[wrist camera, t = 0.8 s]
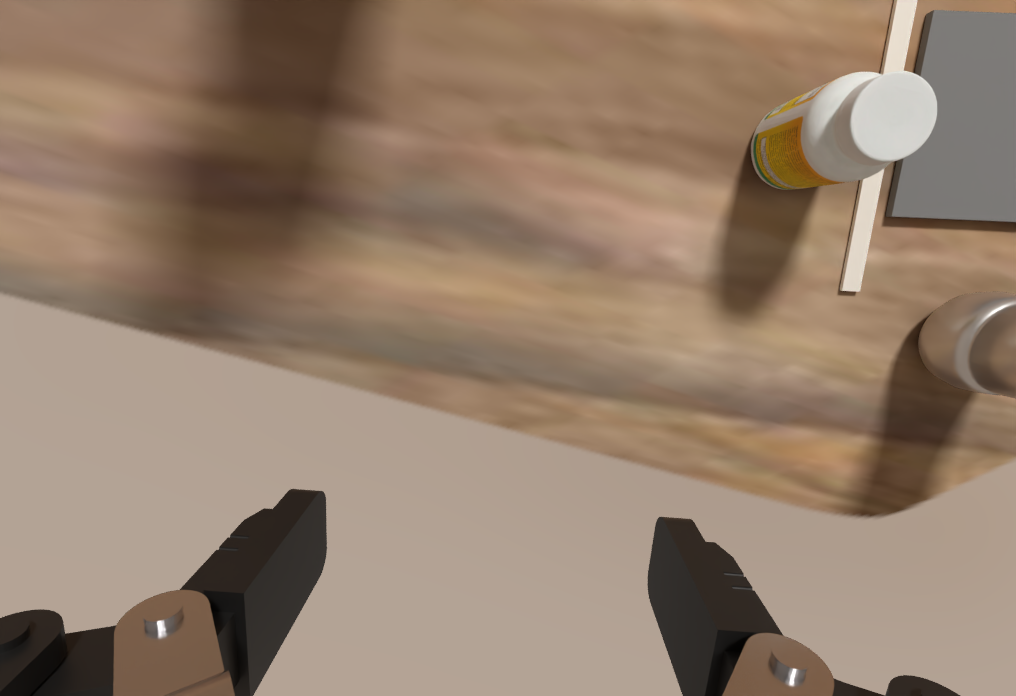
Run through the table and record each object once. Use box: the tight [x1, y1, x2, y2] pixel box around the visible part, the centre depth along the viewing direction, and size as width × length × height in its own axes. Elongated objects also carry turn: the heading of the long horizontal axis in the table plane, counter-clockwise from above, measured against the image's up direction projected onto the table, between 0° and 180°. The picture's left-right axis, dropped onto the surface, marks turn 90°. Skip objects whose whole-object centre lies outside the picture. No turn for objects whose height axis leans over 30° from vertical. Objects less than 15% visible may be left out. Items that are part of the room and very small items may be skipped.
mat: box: [885, 10, 1016, 222], centre depth 32 cm, size 12×12×1 cm
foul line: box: [840, 0, 917, 292], centre depth 33 cm, size 20×1×1 cm, turn 177°
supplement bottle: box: [751, 71, 937, 190], centre depth 29 cm, size 5×5×10 cm
